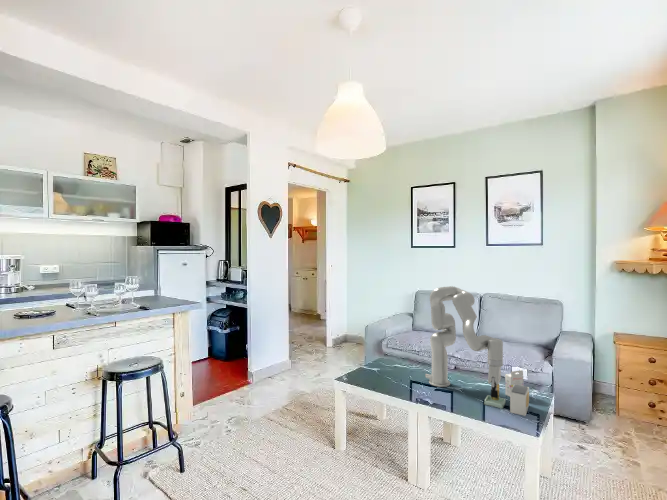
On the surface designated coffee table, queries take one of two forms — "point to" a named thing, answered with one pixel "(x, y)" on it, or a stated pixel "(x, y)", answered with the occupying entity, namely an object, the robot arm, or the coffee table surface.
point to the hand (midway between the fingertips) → (495, 395)
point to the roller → (498, 393)
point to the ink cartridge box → (513, 380)
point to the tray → (494, 402)
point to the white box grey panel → (519, 399)
